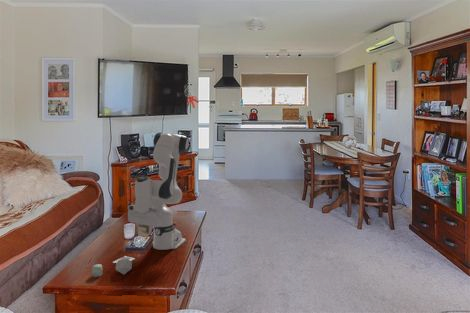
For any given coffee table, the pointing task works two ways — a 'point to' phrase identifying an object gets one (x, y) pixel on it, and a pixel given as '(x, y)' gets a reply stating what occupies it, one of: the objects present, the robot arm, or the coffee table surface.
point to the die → (123, 265)
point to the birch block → (143, 230)
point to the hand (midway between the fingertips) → (144, 232)
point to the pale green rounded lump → (97, 270)
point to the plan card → (125, 257)
